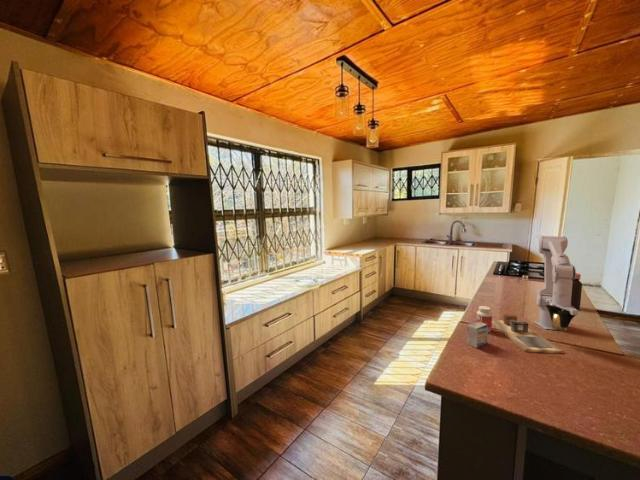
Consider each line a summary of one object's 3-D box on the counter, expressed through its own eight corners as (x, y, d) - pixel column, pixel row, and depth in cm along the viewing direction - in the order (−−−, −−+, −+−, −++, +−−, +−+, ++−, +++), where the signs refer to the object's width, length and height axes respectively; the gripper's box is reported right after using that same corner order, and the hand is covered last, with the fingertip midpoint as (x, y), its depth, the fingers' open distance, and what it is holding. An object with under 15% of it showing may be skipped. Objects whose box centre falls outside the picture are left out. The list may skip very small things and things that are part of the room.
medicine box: (476, 348, 109) (477, 328, 108) (466, 343, 113) (466, 324, 112) (487, 343, 112) (488, 324, 111) (477, 339, 116) (478, 320, 115)
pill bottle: (493, 330, 124) (494, 307, 123) (487, 333, 121) (488, 311, 119) (479, 325, 129) (480, 304, 128) (473, 328, 126) (474, 307, 125)
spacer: (560, 325, 111) (561, 312, 111) (569, 330, 107) (570, 316, 106) (549, 325, 112) (550, 312, 111) (557, 330, 108) (558, 316, 107)
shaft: (514, 323, 128) (514, 315, 127) (526, 331, 119) (526, 323, 118) (503, 322, 128) (503, 315, 128) (514, 331, 120) (514, 322, 119)
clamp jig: (519, 322, 131) (520, 312, 130) (563, 353, 103) (564, 340, 103) (489, 321, 133) (490, 312, 132) (524, 351, 105) (525, 339, 105)
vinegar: (566, 309, 145) (569, 274, 143) (560, 305, 151) (563, 272, 149) (582, 311, 142) (585, 275, 140) (576, 306, 149) (579, 272, 146)
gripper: (539, 288, 116) (537, 317, 117) (565, 299, 101) (562, 332, 103) (556, 288, 115) (554, 317, 116) (585, 299, 100) (582, 333, 102)
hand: (559, 324), depth 109 cm, fingers closed on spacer, 4 cm apart
